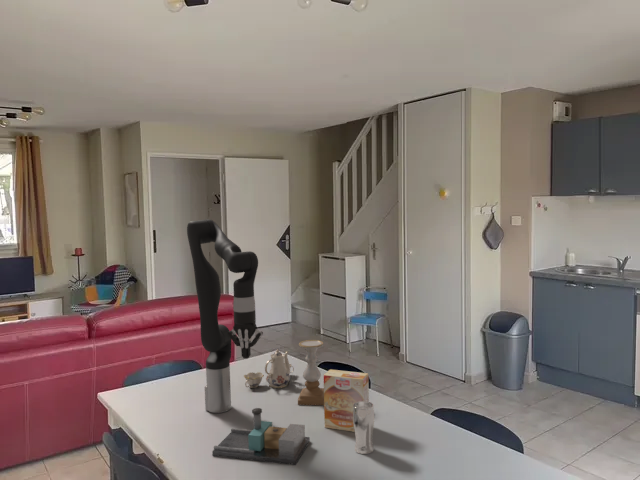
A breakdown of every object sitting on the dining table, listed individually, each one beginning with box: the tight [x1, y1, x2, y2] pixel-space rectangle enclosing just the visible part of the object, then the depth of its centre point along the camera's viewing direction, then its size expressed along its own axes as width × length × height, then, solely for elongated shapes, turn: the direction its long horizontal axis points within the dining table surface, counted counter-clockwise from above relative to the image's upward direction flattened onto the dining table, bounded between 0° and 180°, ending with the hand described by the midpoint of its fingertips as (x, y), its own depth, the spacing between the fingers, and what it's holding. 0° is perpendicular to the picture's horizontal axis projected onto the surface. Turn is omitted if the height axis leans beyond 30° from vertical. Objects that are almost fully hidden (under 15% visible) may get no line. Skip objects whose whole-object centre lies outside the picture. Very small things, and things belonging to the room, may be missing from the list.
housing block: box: [264, 426, 288, 449], centre depth 168 cm, size 6×5×5 cm
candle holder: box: [297, 339, 324, 406], centre depth 210 cm, size 11×11×24 cm
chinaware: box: [243, 348, 295, 389], centre depth 232 cm, size 28×17×17 cm, turn 143°
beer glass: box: [353, 401, 375, 455], centre depth 167 cm, size 7×7×15 cm
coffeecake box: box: [323, 368, 370, 433], centre depth 184 cm, size 15×7×20 cm, turn 68°
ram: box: [248, 407, 273, 451], centre depth 170 cm, size 5×11×11 cm, turn 165°
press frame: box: [211, 423, 311, 466], centre depth 170 cm, size 28×16×6 cm, turn 75°
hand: (246, 357), depth 180 cm, fingers closed
